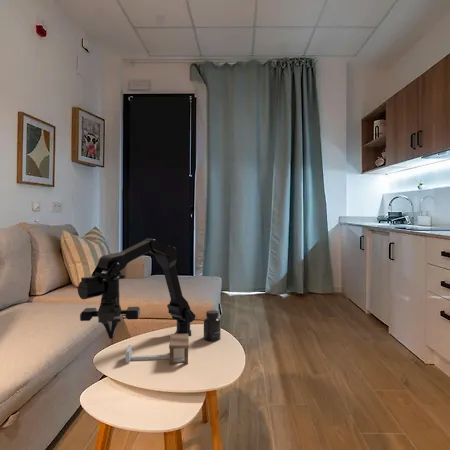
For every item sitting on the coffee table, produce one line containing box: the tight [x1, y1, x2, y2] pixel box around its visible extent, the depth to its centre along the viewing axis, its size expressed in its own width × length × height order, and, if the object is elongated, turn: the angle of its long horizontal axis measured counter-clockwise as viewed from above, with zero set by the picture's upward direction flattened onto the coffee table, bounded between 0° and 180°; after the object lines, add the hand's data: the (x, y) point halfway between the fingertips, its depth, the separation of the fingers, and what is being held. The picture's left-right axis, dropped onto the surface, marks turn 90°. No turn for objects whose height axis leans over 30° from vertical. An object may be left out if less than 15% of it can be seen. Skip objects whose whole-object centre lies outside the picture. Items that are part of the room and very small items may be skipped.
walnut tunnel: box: [168, 333, 190, 366], centre depth 122 cm, size 11×6×7 cm, turn 6°
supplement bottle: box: [203, 309, 222, 343], centre depth 140 cm, size 7×7×12 cm
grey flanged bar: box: [125, 344, 184, 365], centre depth 121 cm, size 7×20×4 cm, turn 96°
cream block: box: [174, 348, 184, 358], centre depth 122 cm, size 4×4×4 cm
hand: (111, 338), depth 119 cm, fingers closed
